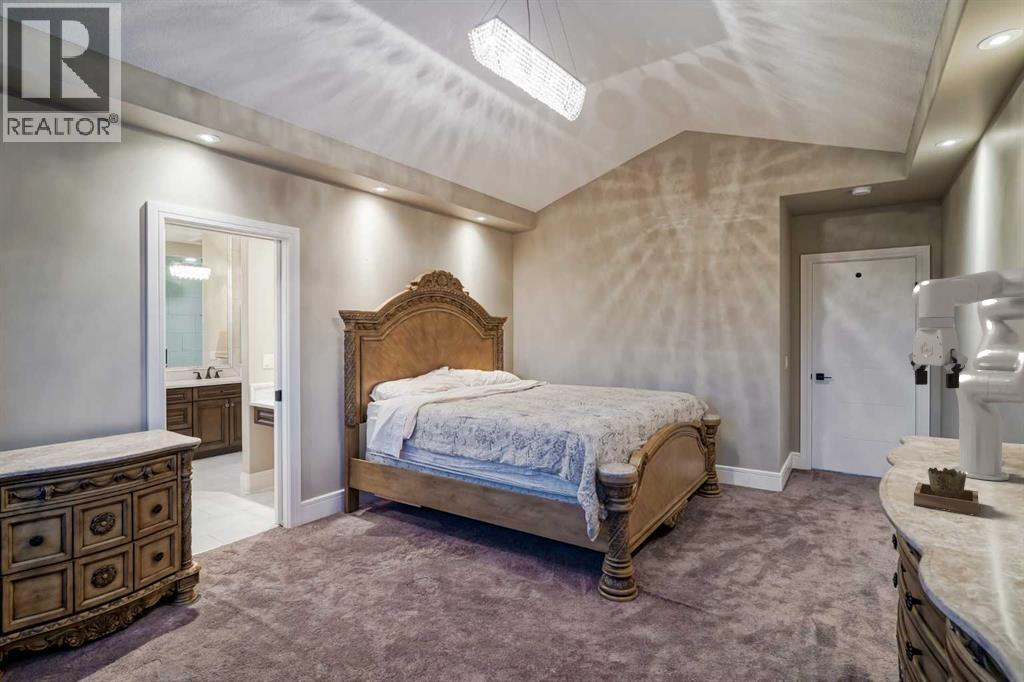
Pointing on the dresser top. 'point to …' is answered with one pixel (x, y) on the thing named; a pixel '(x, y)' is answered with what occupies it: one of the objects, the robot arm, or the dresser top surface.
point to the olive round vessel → (947, 482)
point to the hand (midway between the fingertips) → (936, 386)
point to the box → (946, 500)
